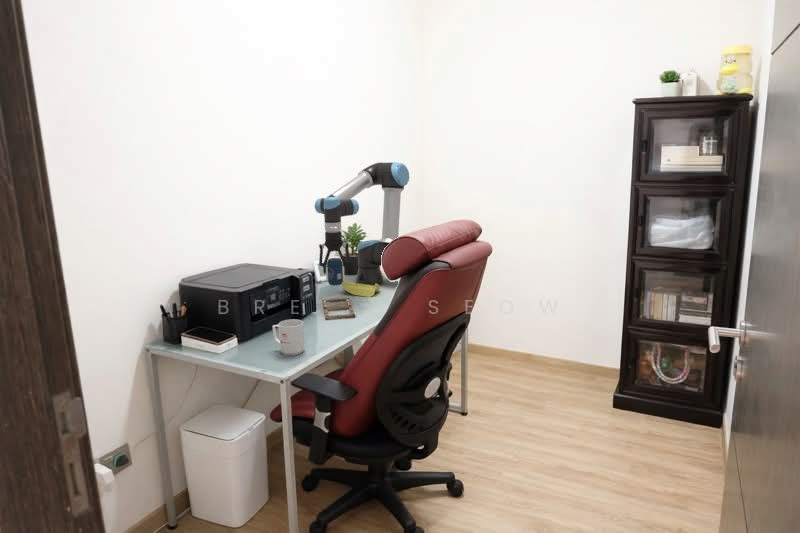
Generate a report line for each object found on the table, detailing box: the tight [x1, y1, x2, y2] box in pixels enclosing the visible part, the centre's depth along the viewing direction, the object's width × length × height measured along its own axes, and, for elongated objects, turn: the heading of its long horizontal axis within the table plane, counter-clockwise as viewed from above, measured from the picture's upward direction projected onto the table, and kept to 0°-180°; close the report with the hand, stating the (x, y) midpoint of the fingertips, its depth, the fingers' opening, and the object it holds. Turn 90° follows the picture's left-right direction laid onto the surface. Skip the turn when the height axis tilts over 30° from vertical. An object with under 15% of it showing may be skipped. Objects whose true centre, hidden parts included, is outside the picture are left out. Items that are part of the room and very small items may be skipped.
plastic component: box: [341, 280, 381, 298], centre depth 281 cm, size 20×7×10 cm
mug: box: [271, 318, 306, 356], centre depth 203 cm, size 12×9×11 cm
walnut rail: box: [321, 297, 356, 321], centre depth 254 cm, size 29×13×1 cm, turn 11°
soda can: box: [326, 257, 343, 287], centre depth 257 cm, size 7×7×12 cm
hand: (335, 279), depth 258 cm, fingers closed on soda can, 7 cm apart
